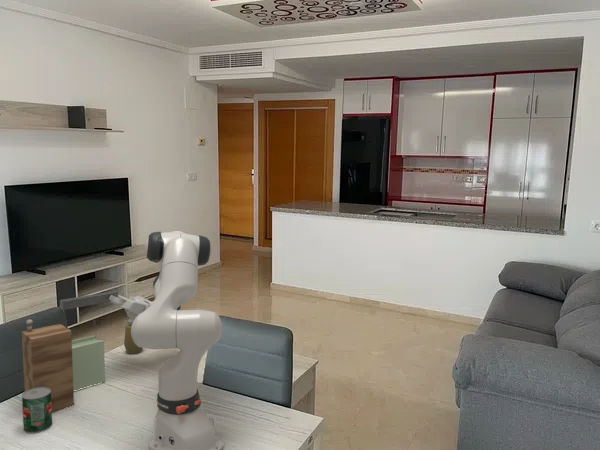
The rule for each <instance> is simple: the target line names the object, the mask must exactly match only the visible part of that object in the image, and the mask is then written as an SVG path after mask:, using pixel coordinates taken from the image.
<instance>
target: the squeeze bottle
mask: <svg viewBox="0 0 600 450" xmlns="http://www.w3.org/2000/svg"><path fill="white" fill-rule="evenodd" d="M134 320H135V319H133V318H129V319H127V324H126V325H125V330H124V340H123V346H124V348H125V350H126V354H130V355H135V354H139V353H141V352H142V350H143V348H142V347H138V346H137V345H136V344H135V343H134V341H133V339H132V336H131V327H132V324H133V321H134Z"/></svg>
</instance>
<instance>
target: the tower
mask: <svg viewBox="0 0 600 450" xmlns="http://www.w3.org/2000/svg"><path fill="white" fill-rule="evenodd" d="M33 322H34V321H33V320H32V319H27V320H26V321H25V325H26V330H23V331H21V346H22V347H21V348H22V349H21V350H22V366H23V388H24V389H23V390H24V392H25V391H27V390H29V389H32V388H37V387H47V388H50V389H51V407H52V413H55V412H58V411H60V409H61V410H64V408H65V409H67V408H66V407H68V408H70V407H69V406H71V407H73V406H72V405H74V406H75V398H74V397H75V395H74V393H75V392H74V391H73V363H72V337H73V336H72V330H71V329H70V328H68V327H66V326H64V325H63V324H61V323H58V324H52V325H48V326H42V327H38V328H33V324H34V323H33Z"/></svg>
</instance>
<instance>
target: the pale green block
mask: <svg viewBox="0 0 600 450" xmlns="http://www.w3.org/2000/svg"><path fill="white" fill-rule="evenodd" d="M96 337H97V336H96V335H95V334H94V335H90V336H86V337H85V336H84V337H81V338H76V339H73V340H72V363H73V391H74V390H78V389H80V388H84V387H87V386H90V385H94V384H98V383H101V382H105V383H106V368H105V340H102V339H101V340H99V339H97V338H96Z"/></svg>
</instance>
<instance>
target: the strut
mask: <svg viewBox="0 0 600 450" xmlns="http://www.w3.org/2000/svg"><path fill="white" fill-rule="evenodd" d="M109 295H112V296H115V297H118V295H119V292H118V291H116V290H112V291H104V292H99V293H94V294H93V293H92V294H88V295H81V296H76V297H71V298H70V297H69V298H66V299H59V309H61V310H62V311H66V310H71V309H76V308H82V307H88V306H93V305H97V304H99V305H100V304H103V303H108V302H109V303H111V302H110V301H111V300H109V299H108V297H109Z"/></svg>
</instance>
